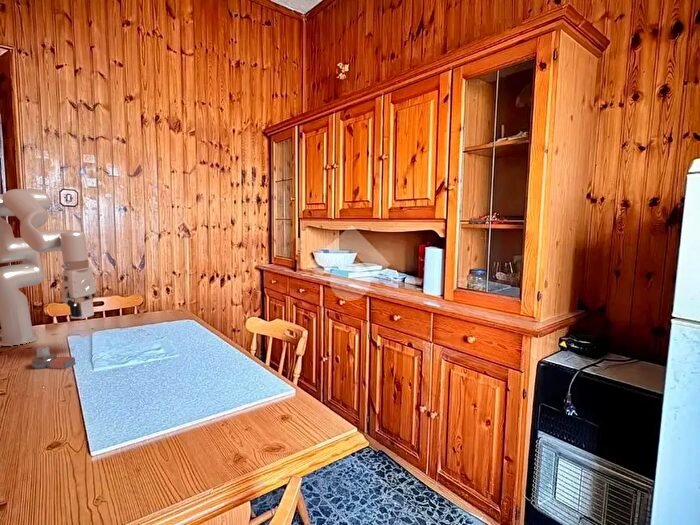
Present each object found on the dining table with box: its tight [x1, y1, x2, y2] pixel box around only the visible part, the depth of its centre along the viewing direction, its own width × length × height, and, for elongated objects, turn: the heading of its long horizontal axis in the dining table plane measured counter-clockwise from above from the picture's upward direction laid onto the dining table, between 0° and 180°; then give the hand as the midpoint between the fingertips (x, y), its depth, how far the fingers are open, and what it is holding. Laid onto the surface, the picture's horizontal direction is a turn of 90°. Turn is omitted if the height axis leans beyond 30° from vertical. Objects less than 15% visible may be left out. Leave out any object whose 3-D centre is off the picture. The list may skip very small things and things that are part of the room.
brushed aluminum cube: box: [69, 298, 95, 320], centre depth 147 cm, size 5×5×6 cm
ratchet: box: [30, 346, 77, 370], centre depth 137 cm, size 14×7×6 cm, turn 78°
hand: (82, 313), depth 147 cm, fingers closed on brushed aluminum cube, 5 cm apart
